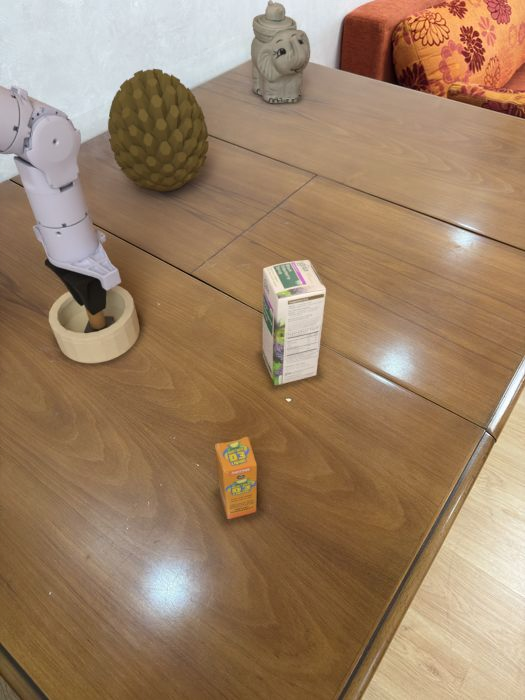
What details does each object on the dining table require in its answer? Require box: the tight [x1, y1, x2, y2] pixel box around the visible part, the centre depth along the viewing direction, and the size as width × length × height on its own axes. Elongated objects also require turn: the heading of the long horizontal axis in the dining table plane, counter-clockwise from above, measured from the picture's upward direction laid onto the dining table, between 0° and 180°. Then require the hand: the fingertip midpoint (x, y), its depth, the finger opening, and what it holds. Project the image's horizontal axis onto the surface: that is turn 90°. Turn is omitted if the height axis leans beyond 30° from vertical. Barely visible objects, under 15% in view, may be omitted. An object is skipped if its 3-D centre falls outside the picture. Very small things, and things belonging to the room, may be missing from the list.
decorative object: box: [107, 68, 209, 193], centre depth 92 cm, size 17×17×20 cm
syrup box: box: [261, 259, 327, 386], centre depth 63 cm, size 6×6×14 cm
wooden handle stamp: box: [84, 305, 115, 333], centre depth 69 cm, size 3×3×9 cm
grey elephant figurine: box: [250, 0, 311, 104], centre depth 120 cm, size 16×15×19 cm
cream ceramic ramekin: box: [48, 285, 140, 364], centre depth 71 cm, size 11×11×4 cm
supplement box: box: [214, 436, 258, 520], centre depth 52 cm, size 3×3×10 cm
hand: (92, 306), depth 69 cm, fingers closed on wooden handle stamp, 2 cm apart
